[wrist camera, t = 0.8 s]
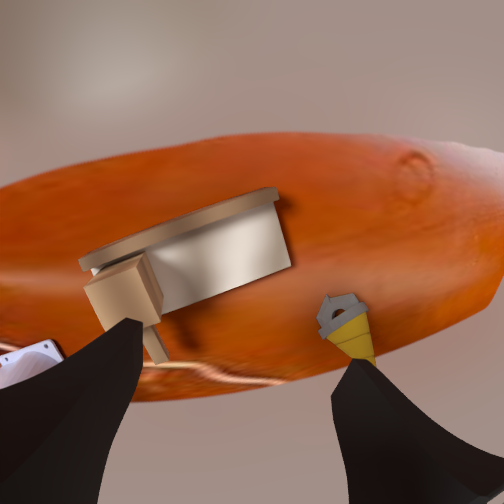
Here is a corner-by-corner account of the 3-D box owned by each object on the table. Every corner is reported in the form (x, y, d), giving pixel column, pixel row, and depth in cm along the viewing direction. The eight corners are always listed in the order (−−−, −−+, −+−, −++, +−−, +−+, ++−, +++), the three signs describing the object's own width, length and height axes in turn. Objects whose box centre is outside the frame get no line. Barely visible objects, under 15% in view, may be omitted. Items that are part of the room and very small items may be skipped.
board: (121, 323, 23) (115, 339, 20) (89, 252, 21) (78, 260, 18) (286, 262, 26) (299, 270, 23) (264, 187, 24) (276, 186, 21)
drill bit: (354, 278, 29) (403, 356, 24) (316, 307, 31) (361, 382, 26) (339, 276, 24) (397, 370, 20) (294, 309, 26) (346, 398, 22)
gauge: (143, 352, 23) (138, 385, 18) (102, 267, 21) (83, 287, 16) (183, 338, 23) (186, 370, 19) (145, 250, 21) (136, 266, 16)
